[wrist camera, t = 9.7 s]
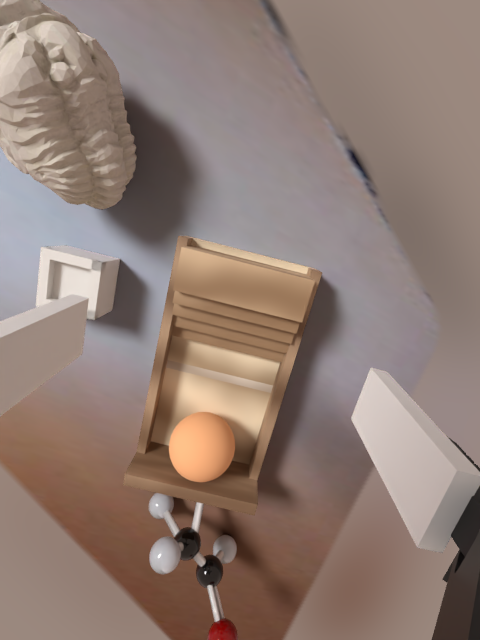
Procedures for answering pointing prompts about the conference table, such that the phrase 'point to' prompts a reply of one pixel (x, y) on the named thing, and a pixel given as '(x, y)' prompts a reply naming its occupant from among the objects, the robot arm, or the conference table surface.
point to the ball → (202, 447)
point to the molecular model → (187, 548)
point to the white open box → (77, 277)
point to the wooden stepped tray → (222, 364)
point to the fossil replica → (62, 107)
